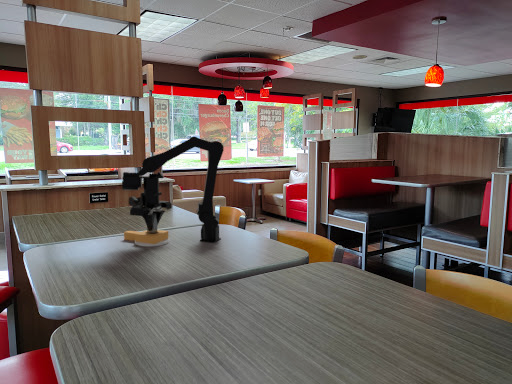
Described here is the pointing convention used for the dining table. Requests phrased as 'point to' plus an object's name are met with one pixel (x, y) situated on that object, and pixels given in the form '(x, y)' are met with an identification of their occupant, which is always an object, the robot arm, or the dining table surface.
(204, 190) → the robot arm
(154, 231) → the dark grey post
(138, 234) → the bracket
